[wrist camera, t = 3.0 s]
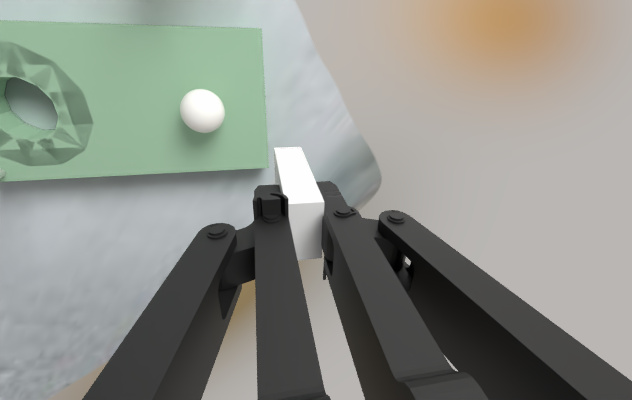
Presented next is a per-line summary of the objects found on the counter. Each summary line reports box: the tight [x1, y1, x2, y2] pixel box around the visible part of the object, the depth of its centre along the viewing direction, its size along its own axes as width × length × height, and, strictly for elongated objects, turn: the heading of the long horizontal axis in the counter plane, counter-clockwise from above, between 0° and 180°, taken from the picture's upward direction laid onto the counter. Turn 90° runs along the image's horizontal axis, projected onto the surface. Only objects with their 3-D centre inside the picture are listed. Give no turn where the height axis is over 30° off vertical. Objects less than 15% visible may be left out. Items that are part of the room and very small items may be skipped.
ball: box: [180, 89, 225, 133], centre depth 29 cm, size 4×4×4 cm
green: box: [0, 21, 269, 182], centre depth 25 cm, size 14×29×15 cm, turn 89°
